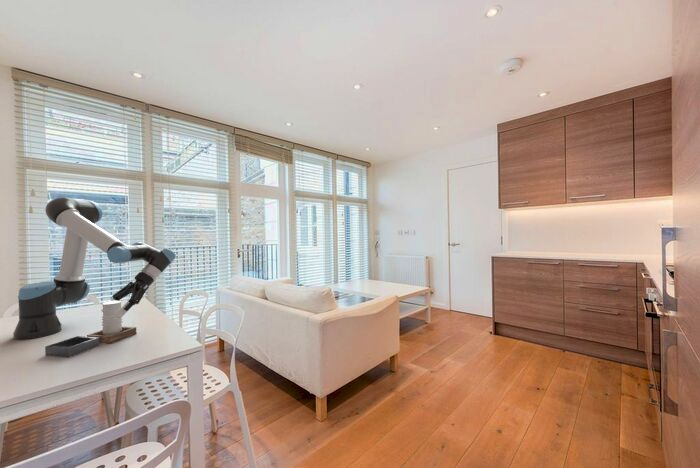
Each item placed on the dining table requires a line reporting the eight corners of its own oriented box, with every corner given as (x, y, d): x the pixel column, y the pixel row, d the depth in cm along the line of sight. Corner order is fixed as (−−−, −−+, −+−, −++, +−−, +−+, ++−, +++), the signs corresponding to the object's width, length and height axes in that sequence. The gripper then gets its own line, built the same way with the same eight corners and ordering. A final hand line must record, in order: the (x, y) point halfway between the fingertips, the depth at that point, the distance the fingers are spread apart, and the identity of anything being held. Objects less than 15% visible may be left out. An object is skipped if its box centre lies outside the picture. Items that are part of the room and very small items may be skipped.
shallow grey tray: (45, 355, 109) (45, 346, 109) (77, 344, 120) (77, 336, 120) (68, 357, 107) (68, 348, 107) (99, 345, 118) (99, 337, 118)
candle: (113, 332, 131) (112, 300, 131) (126, 333, 130) (125, 300, 130) (97, 338, 124) (97, 304, 124) (111, 339, 123) (111, 304, 123)
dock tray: (86, 342, 122) (86, 335, 122) (114, 332, 134) (114, 326, 134) (110, 343, 120) (110, 336, 120) (136, 333, 132) (136, 327, 132)
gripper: (167, 282, 135) (131, 323, 122) (140, 278, 147) (105, 315, 134) (155, 272, 130) (116, 313, 117) (128, 269, 143) (90, 306, 130)
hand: (110, 314), depth 126 cm, fingers open, 13 cm apart
